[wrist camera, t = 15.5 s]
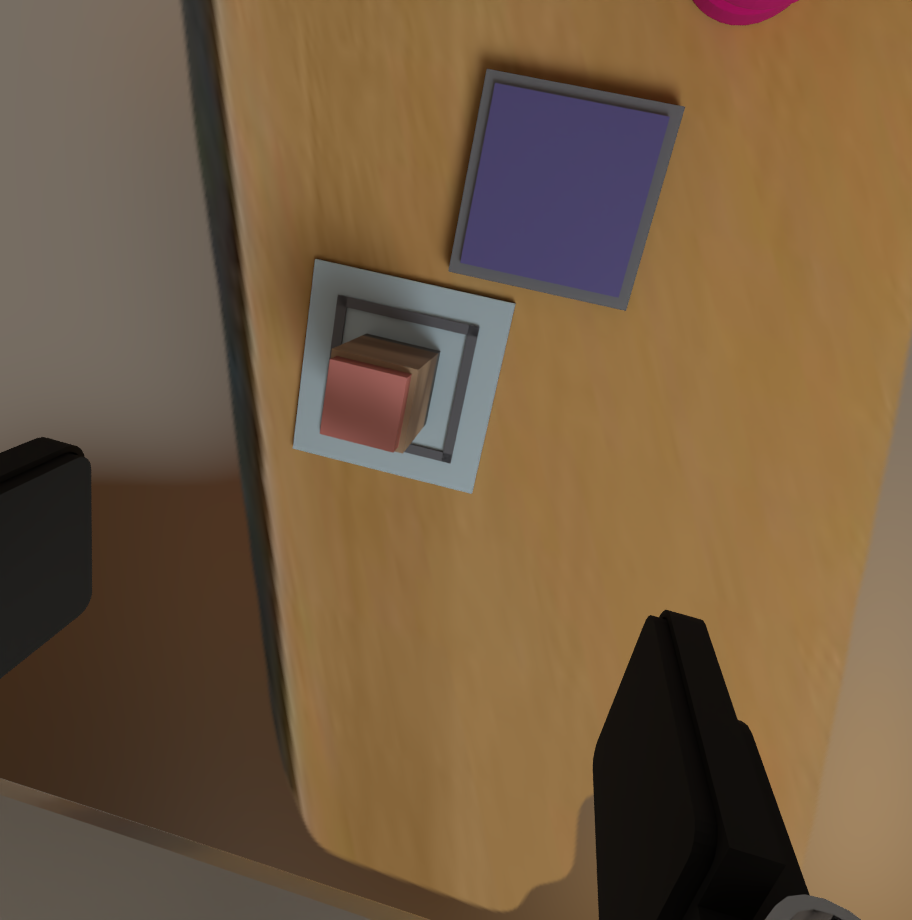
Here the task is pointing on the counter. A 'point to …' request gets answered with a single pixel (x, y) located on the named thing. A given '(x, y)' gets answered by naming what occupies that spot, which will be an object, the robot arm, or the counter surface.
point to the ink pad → (562, 187)
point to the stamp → (378, 392)
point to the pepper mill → (742, 10)
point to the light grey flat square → (419, 323)
